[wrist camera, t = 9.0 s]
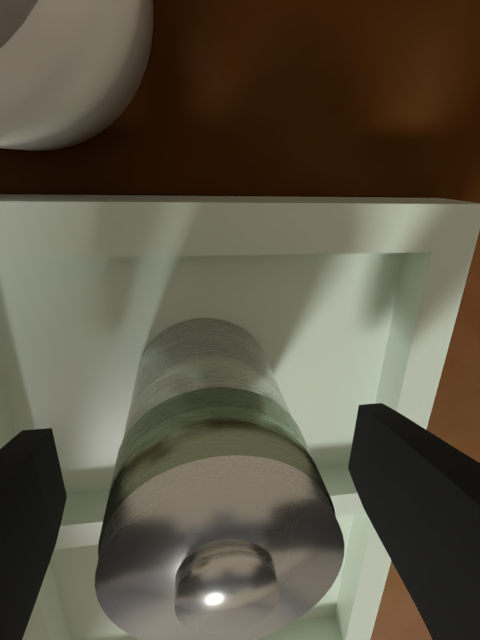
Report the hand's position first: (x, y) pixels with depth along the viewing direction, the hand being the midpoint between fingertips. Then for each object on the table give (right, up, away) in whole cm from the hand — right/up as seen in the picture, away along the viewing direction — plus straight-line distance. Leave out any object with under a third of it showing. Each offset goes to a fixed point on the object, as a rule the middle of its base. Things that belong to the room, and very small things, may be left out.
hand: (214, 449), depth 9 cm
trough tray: (-1, -3, +5) cm, 6 cm away
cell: (0, +1, +3) cm, 3 cm away
